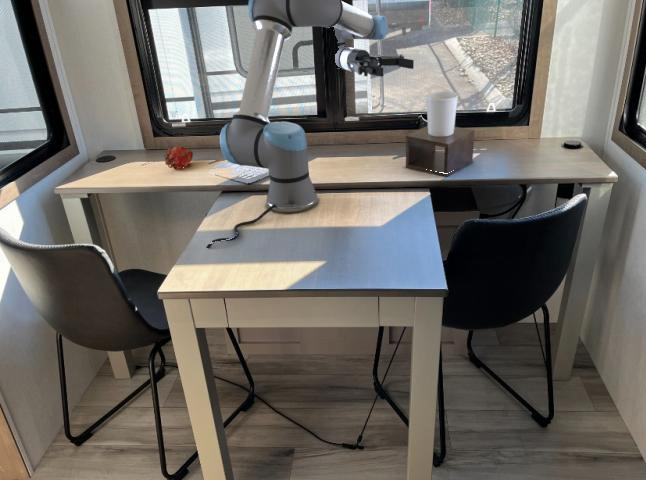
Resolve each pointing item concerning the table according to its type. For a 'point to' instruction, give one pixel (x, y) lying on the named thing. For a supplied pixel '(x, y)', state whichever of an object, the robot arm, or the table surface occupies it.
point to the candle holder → (441, 113)
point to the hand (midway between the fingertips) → (398, 68)
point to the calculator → (243, 170)
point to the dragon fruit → (178, 157)
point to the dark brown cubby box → (426, 157)
